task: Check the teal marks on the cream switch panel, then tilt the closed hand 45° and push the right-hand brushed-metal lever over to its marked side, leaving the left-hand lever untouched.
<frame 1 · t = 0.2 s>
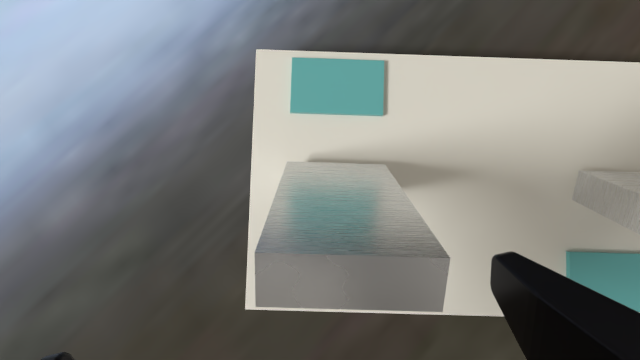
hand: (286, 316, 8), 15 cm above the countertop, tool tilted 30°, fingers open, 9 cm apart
switch panel: (455, 185, 23), on the countertop
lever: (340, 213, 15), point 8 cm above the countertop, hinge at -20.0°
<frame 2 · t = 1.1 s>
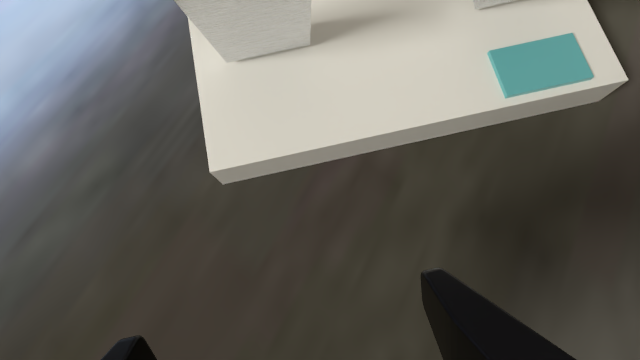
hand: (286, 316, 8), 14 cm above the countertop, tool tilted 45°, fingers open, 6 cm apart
switch panel: (383, 48, 25), on the countertop
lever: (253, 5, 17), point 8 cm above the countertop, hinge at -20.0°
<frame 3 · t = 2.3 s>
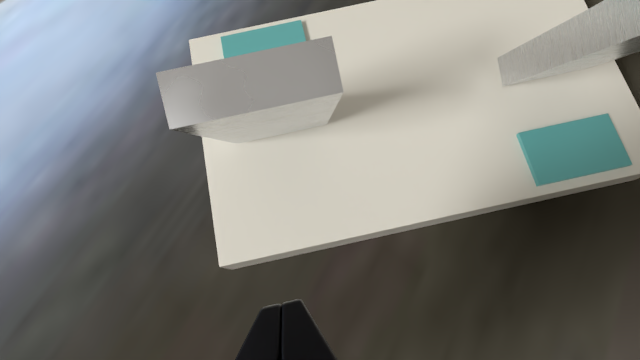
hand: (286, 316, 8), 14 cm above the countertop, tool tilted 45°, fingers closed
switch panel: (402, 117, 24), on the countertop
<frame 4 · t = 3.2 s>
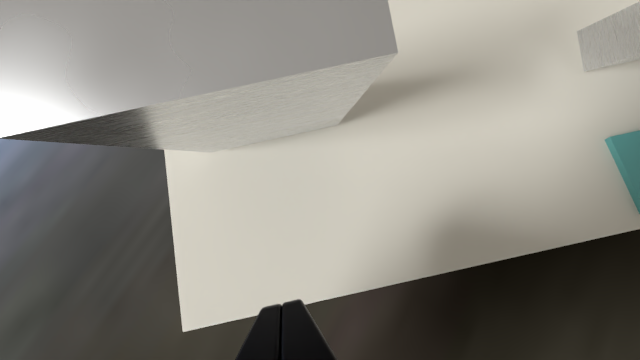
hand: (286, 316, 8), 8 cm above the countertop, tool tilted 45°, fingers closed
switch panel: (435, 115, 18), on the countertop
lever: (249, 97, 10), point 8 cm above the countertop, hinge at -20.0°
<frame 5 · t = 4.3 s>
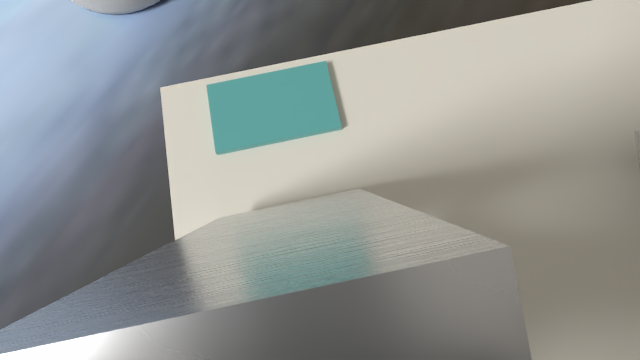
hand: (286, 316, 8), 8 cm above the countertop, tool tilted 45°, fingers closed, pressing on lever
switch panel: (469, 201, 16), on the countertop
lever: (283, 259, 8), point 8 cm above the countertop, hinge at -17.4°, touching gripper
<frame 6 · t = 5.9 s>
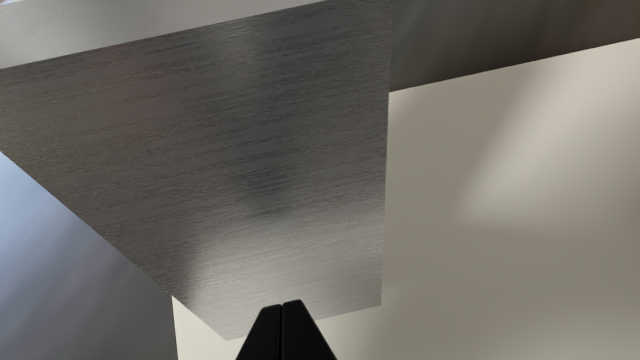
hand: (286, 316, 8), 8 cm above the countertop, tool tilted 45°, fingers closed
switch panel: (482, 256, 16), on the countertop
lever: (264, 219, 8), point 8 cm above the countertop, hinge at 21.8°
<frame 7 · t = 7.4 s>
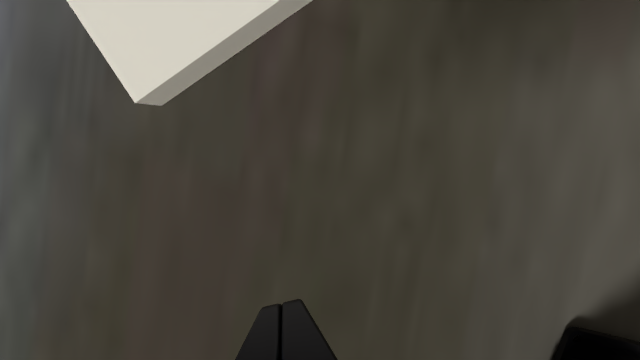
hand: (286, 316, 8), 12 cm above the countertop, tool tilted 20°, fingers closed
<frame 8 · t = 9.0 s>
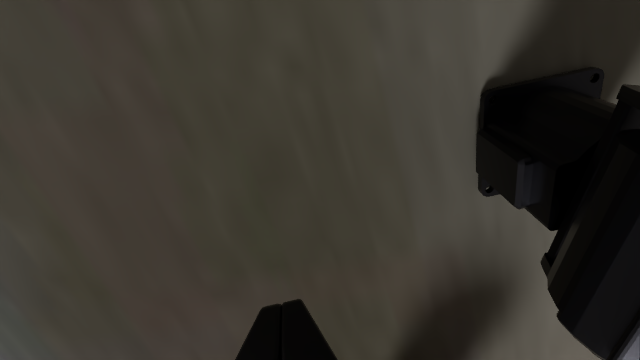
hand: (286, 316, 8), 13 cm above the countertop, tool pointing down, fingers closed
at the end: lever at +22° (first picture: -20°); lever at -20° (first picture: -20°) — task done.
